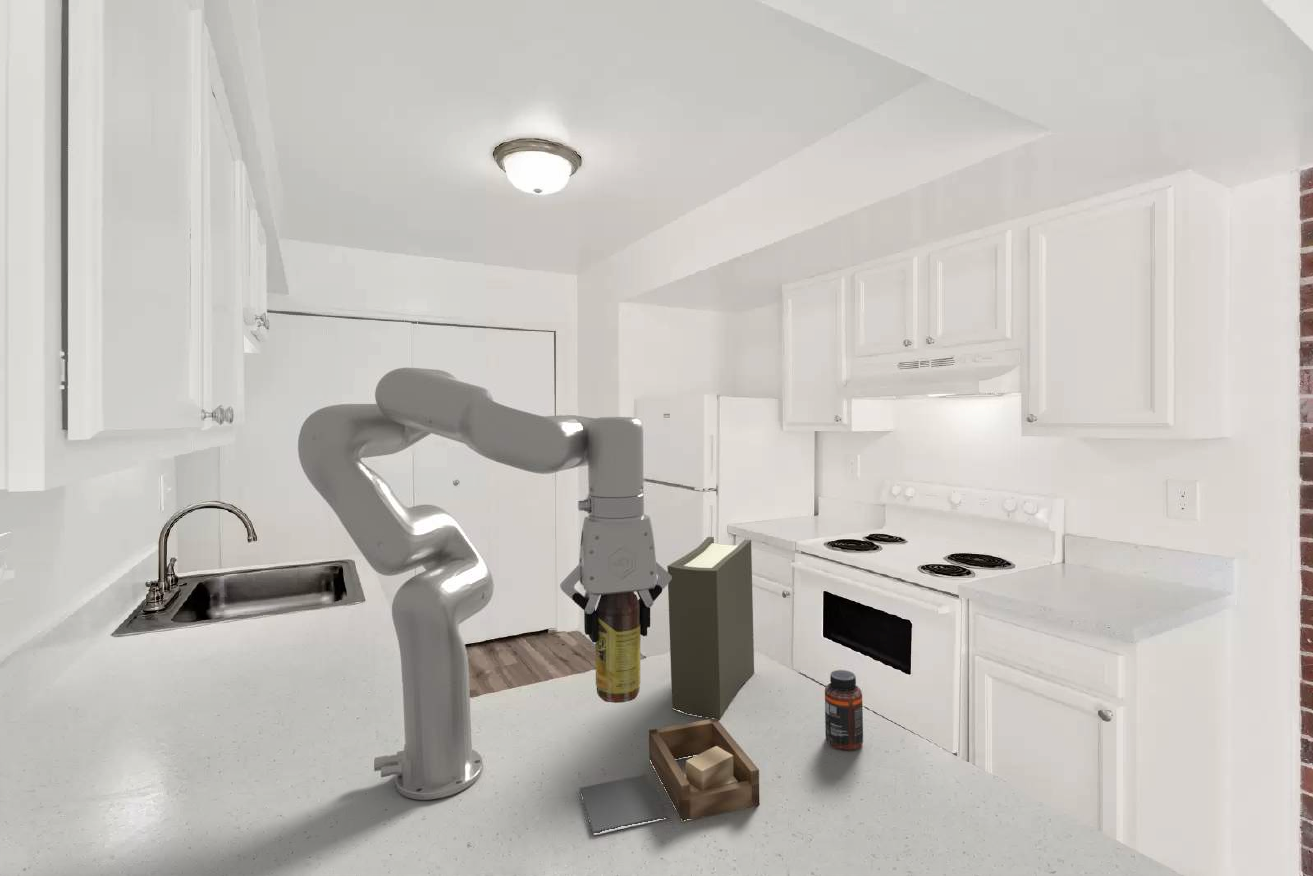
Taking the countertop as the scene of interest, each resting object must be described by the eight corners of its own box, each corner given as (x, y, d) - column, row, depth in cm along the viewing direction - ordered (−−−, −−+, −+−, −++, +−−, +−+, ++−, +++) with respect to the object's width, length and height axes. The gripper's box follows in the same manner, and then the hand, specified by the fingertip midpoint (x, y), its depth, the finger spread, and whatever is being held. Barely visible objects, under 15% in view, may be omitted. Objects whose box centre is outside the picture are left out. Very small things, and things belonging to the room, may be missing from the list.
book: (719, 724, 112) (714, 568, 110) (670, 714, 116) (665, 563, 114) (754, 673, 132) (751, 539, 129) (711, 666, 136) (707, 536, 133)
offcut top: (702, 792, 87) (702, 771, 87) (686, 781, 90) (685, 760, 90) (733, 776, 91) (733, 755, 91) (716, 765, 94) (716, 745, 94)
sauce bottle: (595, 686, 92) (594, 549, 91) (639, 684, 92) (638, 548, 91) (595, 708, 85) (594, 561, 84) (642, 705, 86) (641, 559, 85)
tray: (682, 822, 85) (681, 786, 85) (649, 761, 100) (648, 730, 100) (759, 804, 89) (759, 769, 88) (716, 748, 103) (716, 718, 103)
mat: (593, 836, 83) (593, 831, 83) (579, 791, 93) (579, 787, 93) (666, 819, 86) (666, 815, 86) (645, 778, 96) (645, 774, 95)
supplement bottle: (863, 735, 106) (863, 669, 106) (862, 754, 101) (862, 684, 100) (826, 730, 108) (825, 665, 108) (823, 748, 103) (823, 680, 102)
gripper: (557, 515, 81) (559, 654, 82) (685, 507, 86) (685, 638, 87) (548, 506, 88) (551, 634, 89) (667, 499, 93) (668, 620, 94)
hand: (617, 634), depth 88 cm, fingers closed on sauce bottle, 6 cm apart
